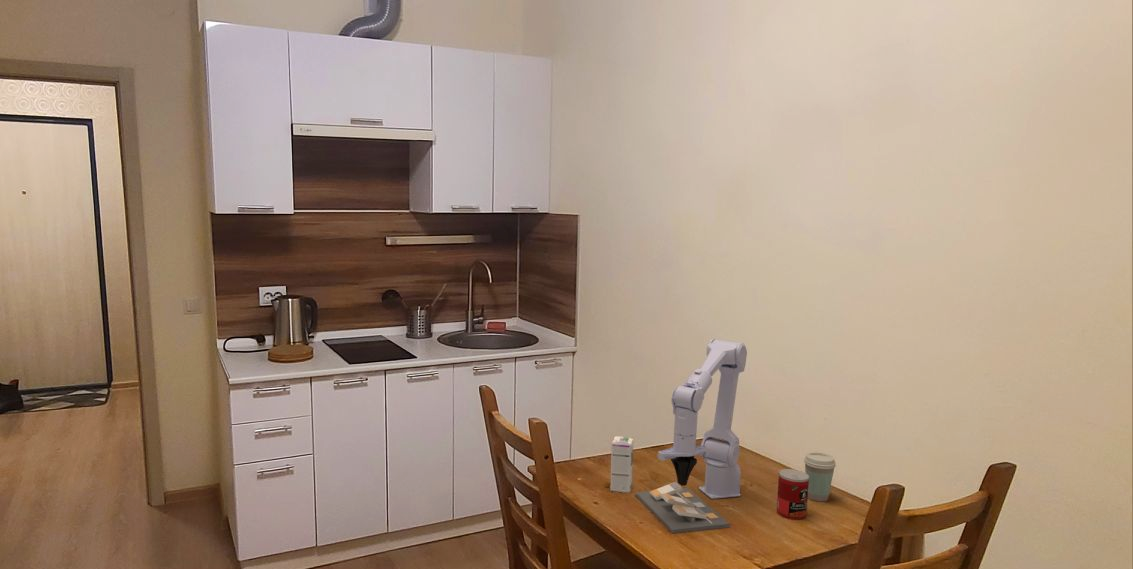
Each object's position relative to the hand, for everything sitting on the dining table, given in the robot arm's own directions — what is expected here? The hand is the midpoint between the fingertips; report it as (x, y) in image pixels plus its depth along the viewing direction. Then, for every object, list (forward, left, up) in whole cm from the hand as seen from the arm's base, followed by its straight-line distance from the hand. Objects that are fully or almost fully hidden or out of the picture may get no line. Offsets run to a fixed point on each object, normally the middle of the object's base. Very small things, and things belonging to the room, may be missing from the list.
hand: (682, 484), depth 187 cm
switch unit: (-3, -5, -10) cm, 11 cm away
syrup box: (+7, -23, -10) cm, 26 cm away
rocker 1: (-2, -12, -7) cm, 14 cm away
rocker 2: (-2, -5, -7) cm, 9 cm away
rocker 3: (-2, +2, -7) cm, 7 cm away
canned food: (-32, +3, -10) cm, 33 cm away
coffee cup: (-46, -5, -10) cm, 47 cm away
